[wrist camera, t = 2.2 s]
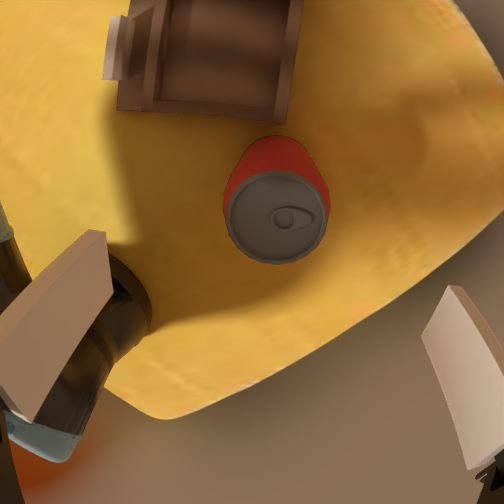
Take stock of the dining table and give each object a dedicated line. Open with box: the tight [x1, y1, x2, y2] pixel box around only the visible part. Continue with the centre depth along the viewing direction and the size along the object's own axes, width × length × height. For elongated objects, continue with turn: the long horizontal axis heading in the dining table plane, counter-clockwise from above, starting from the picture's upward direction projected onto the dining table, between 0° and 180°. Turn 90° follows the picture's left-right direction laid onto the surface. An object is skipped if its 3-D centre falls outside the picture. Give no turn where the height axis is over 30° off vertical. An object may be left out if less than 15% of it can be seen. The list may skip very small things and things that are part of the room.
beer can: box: [223, 135, 330, 265], centre depth 21 cm, size 7×7×12 cm
